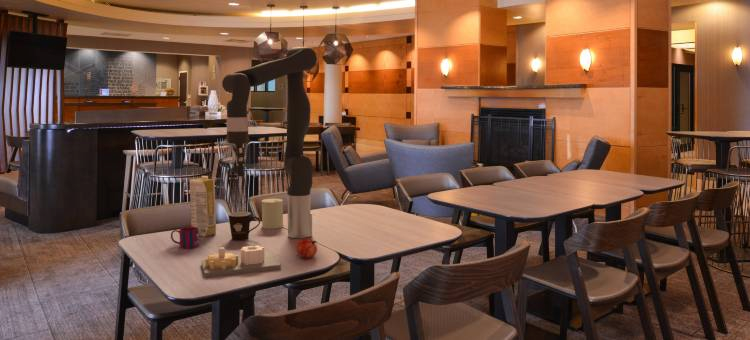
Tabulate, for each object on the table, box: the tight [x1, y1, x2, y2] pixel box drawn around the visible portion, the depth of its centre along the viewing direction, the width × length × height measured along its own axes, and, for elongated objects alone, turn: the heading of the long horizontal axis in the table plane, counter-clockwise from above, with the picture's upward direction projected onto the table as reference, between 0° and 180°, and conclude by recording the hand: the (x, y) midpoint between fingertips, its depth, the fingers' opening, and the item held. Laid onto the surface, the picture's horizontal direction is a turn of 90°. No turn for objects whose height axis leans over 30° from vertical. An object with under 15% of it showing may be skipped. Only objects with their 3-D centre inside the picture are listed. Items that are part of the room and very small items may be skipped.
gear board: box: [200, 246, 282, 278], centre depth 184 cm, size 24×14×7 cm, turn 111°
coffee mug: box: [228, 211, 261, 242], centre depth 219 cm, size 12×9×10 cm
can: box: [261, 198, 284, 230], centre depth 240 cm, size 9×9×12 cm
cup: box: [170, 226, 200, 250], centre depth 209 cm, size 7×10×7 cm
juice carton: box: [189, 175, 217, 238], centre depth 225 cm, size 9×8×24 cm
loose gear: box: [240, 245, 265, 265], centre depth 186 cm, size 8×6×4 cm
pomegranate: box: [295, 237, 318, 259], centre depth 195 cm, size 7×7×10 cm
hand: (238, 174), depth 201 cm, fingers open, 8 cm apart
